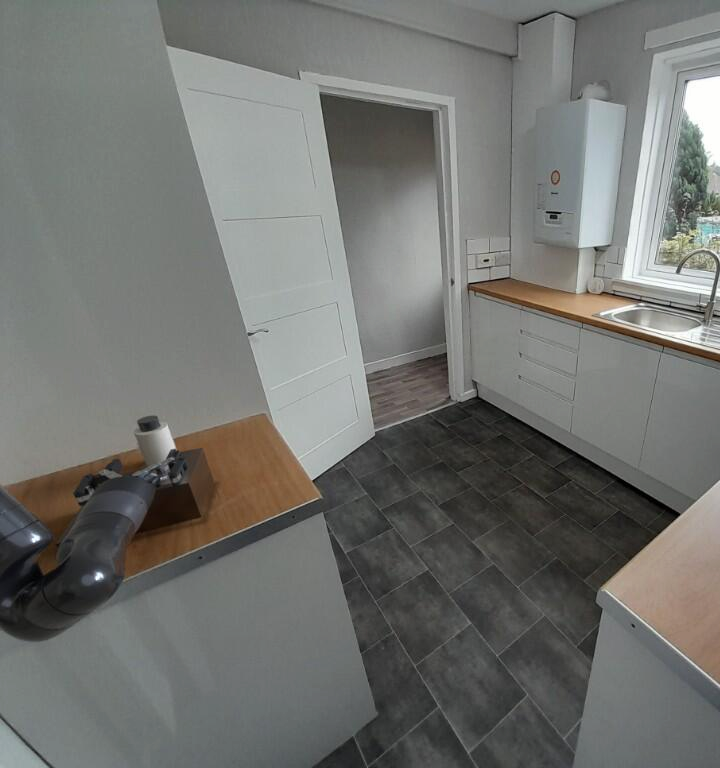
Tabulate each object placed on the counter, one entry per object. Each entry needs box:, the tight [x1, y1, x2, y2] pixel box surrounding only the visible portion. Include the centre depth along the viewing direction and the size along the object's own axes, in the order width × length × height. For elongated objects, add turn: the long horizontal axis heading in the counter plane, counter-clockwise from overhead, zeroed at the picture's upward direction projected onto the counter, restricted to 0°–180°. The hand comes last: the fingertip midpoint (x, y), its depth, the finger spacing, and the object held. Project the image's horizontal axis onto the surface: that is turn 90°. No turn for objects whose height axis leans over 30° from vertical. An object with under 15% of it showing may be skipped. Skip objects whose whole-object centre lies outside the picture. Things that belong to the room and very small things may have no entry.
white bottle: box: [133, 414, 178, 475], centre depth 82 cm, size 5×5×12 cm
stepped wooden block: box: [54, 447, 215, 549], centre depth 84 cm, size 22×14×10 cm, turn 115°
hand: (147, 457), depth 77 cm, fingers open, 8 cm apart
